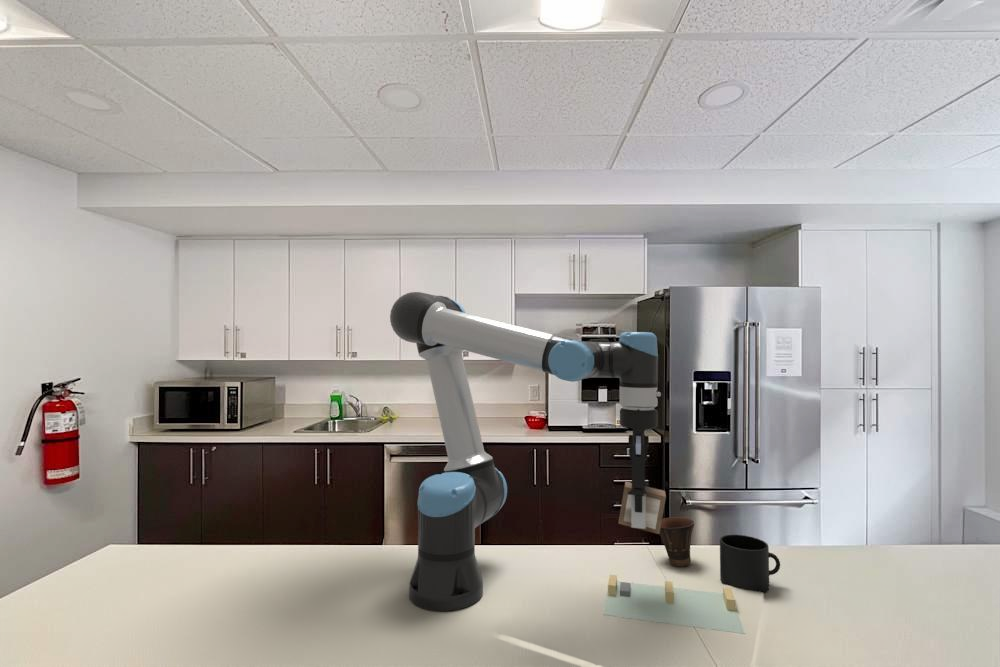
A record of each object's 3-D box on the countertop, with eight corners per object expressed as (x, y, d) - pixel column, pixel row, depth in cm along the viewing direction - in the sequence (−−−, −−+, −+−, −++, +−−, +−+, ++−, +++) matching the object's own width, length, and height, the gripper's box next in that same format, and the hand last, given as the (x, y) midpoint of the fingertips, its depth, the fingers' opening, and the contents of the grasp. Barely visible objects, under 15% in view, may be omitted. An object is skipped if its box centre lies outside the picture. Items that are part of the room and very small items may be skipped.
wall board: (603, 620, 96) (603, 603, 96) (609, 585, 110) (609, 570, 110) (745, 639, 89) (744, 621, 89) (731, 599, 103) (731, 584, 104)
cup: (651, 554, 127) (651, 513, 127) (690, 556, 125) (689, 514, 126) (657, 569, 118) (657, 525, 118) (698, 571, 117) (698, 527, 117)
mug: (790, 597, 104) (789, 552, 105) (728, 594, 106) (727, 549, 106) (771, 577, 114) (770, 535, 114) (714, 574, 115) (714, 533, 116)
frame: (618, 523, 103) (624, 487, 103) (619, 516, 108) (625, 481, 108) (659, 534, 101) (665, 497, 101) (658, 526, 106) (665, 491, 106)
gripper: (658, 413, 96) (659, 540, 95) (657, 404, 113) (657, 511, 112) (617, 411, 98) (617, 536, 97) (621, 402, 115) (621, 508, 114)
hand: (638, 523), depth 105 cm, fingers closed on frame, 5 cm apart
